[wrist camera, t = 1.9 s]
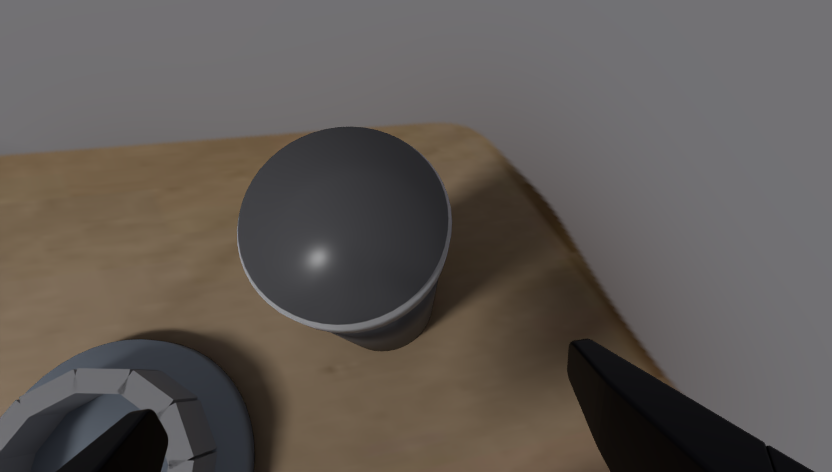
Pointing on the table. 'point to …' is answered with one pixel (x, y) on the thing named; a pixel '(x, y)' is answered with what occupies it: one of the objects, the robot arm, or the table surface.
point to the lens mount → (130, 409)
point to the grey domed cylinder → (348, 235)
